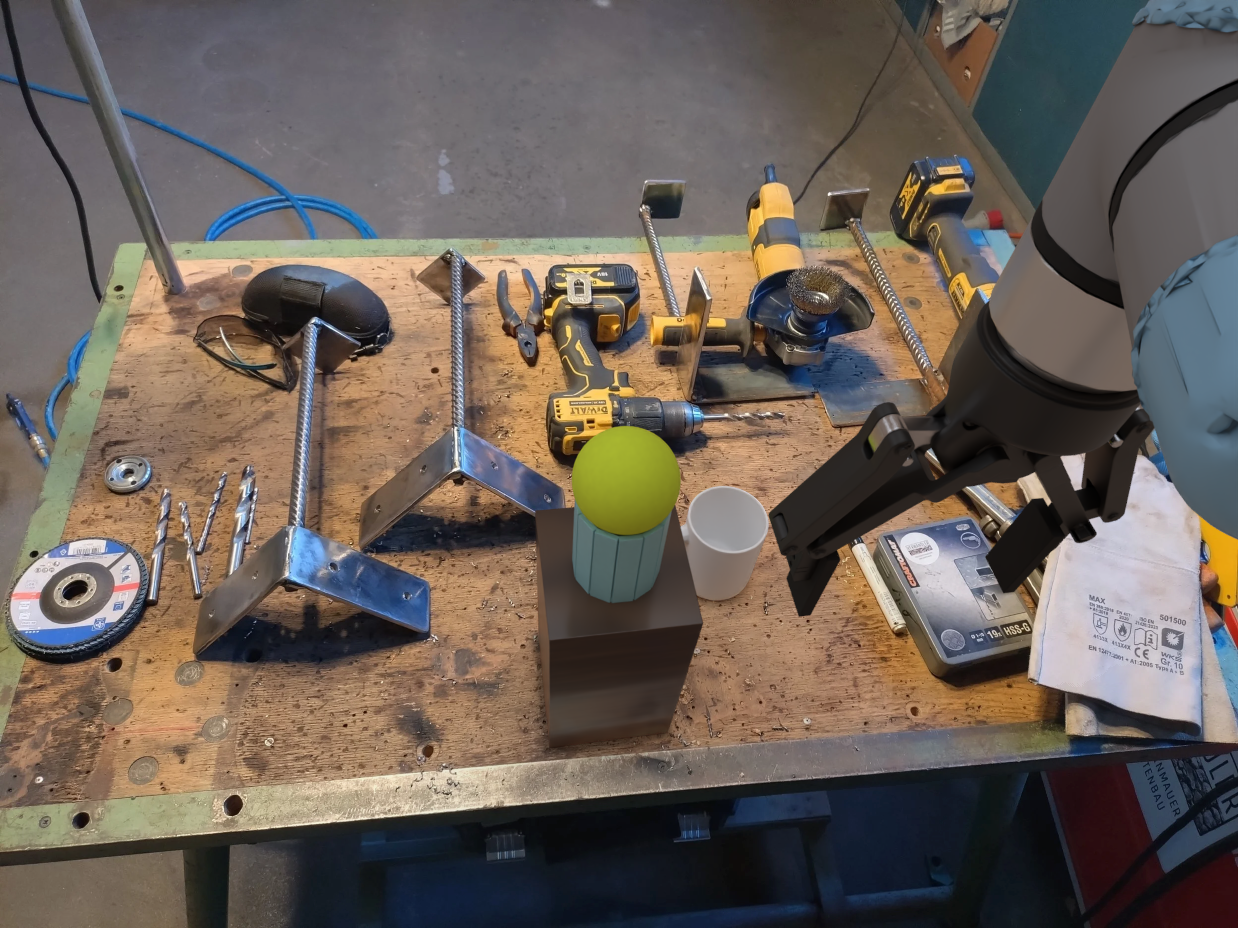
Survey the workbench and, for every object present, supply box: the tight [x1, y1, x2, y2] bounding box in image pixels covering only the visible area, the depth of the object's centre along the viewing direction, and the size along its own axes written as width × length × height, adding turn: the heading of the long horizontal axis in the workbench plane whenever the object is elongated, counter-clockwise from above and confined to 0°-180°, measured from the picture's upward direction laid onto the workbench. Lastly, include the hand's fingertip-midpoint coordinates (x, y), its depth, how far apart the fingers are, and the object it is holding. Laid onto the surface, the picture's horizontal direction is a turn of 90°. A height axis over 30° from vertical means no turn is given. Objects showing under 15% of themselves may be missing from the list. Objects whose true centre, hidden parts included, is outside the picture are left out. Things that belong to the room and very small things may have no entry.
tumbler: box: [572, 499, 672, 603], centre depth 61 cm, size 7×7×9 cm
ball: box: [571, 425, 682, 535], centre depth 56 cm, size 8×8×8 cm
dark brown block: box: [534, 504, 704, 749], centre depth 74 cm, size 12×12×24 cm
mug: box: [680, 485, 770, 601], centre depth 89 cm, size 9×12×11 cm
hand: (900, 585), depth 51 cm, fingers open, 13 cm apart
